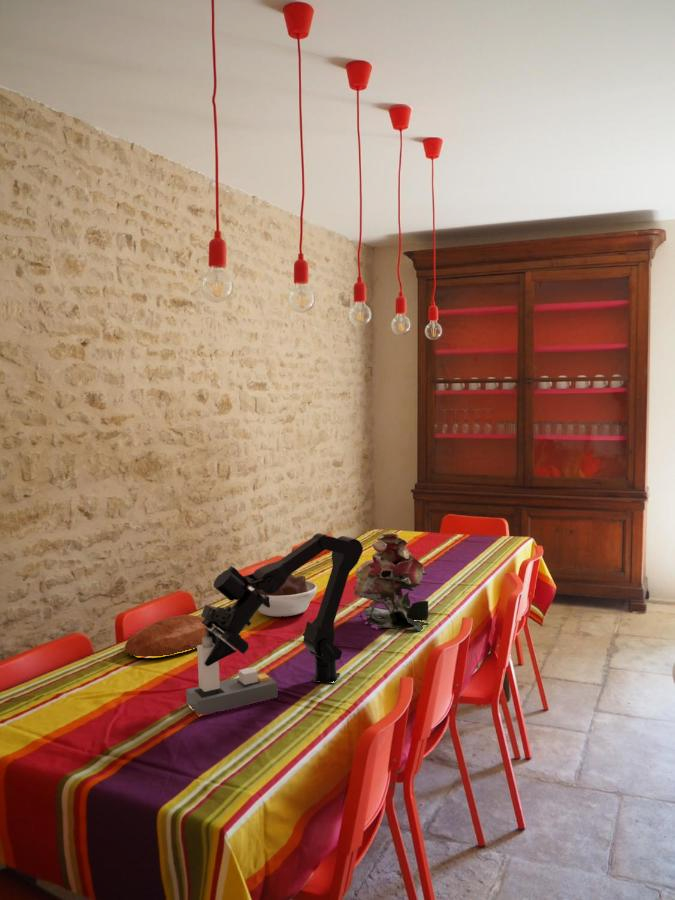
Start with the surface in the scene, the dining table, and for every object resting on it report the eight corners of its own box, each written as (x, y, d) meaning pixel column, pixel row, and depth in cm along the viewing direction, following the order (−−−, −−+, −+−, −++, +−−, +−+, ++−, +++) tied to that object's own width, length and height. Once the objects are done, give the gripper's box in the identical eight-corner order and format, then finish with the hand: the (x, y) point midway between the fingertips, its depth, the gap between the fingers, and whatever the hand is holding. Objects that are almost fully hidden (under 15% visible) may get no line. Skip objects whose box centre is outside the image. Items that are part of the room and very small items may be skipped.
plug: (214, 683, 186) (212, 634, 185) (219, 688, 182) (217, 638, 182) (199, 686, 184) (196, 637, 183) (204, 691, 180) (202, 641, 180)
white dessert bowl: (316, 622, 251) (314, 579, 250) (243, 624, 252) (241, 581, 251) (319, 603, 276) (318, 563, 275) (253, 604, 277) (251, 565, 276)
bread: (108, 656, 224) (106, 628, 224) (179, 627, 252) (178, 602, 251) (163, 668, 213) (162, 638, 212) (232, 636, 240) (231, 609, 240)
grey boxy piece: (263, 686, 195) (262, 661, 195) (277, 698, 188) (276, 671, 187) (186, 704, 185) (185, 677, 185) (198, 717, 177) (197, 689, 177)
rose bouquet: (427, 607, 266) (425, 525, 264) (430, 632, 237) (428, 540, 235) (357, 607, 268) (354, 526, 266) (350, 632, 239) (348, 541, 237)
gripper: (207, 585, 192) (168, 634, 187) (234, 600, 175) (191, 655, 171) (237, 609, 196) (199, 658, 191) (265, 627, 180) (225, 681, 175)
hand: (202, 662), depth 182 cm, fingers closed on plug, 4 cm apart
